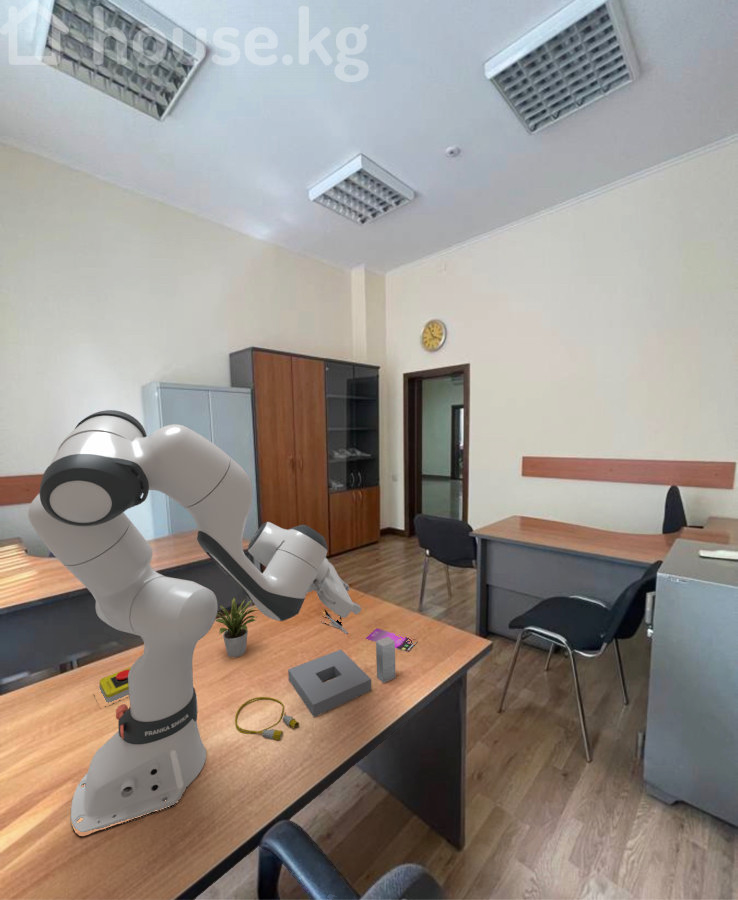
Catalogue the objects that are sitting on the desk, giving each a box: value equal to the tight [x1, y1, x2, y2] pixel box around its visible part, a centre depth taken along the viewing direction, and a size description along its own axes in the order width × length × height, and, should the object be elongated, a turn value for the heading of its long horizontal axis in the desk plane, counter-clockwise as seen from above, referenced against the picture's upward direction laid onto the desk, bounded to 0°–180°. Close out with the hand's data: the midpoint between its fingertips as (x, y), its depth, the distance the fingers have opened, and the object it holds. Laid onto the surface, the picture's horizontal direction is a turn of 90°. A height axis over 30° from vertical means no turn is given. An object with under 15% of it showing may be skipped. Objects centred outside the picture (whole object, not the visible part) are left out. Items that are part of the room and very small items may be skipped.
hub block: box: [287, 649, 372, 718], centre depth 102 cm, size 16×16×3 cm
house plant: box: [215, 597, 258, 658], centre depth 116 cm, size 14×14×16 cm
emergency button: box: [98, 666, 132, 703], centre depth 104 cm, size 9×4×15 cm
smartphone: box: [365, 628, 417, 653], centre depth 122 cm, size 7×15×1 cm, turn 58°
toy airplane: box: [320, 608, 349, 635], centre depth 135 cm, size 8×21×2 cm, turn 33°
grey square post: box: [375, 637, 397, 684], centre depth 104 cm, size 4×3×10 cm
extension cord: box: [234, 696, 300, 741], centre depth 90 cm, size 12×16×2 cm
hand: (352, 599), depth 96 cm, fingers open, 8 cm apart
